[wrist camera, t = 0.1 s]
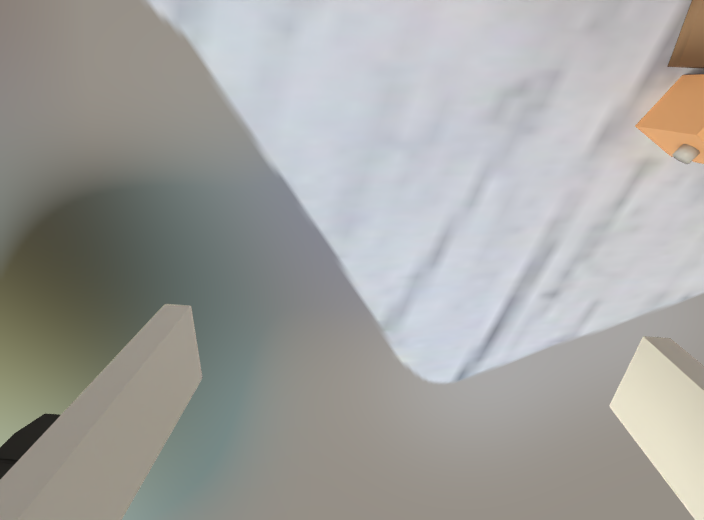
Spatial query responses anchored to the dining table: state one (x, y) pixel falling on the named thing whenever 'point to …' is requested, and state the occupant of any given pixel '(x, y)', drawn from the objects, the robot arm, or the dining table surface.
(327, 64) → the dining table surface
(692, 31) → the base
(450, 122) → the dining table surface
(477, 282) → the dining table surface
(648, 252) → the dining table surface
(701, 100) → the block
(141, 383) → the robot arm
